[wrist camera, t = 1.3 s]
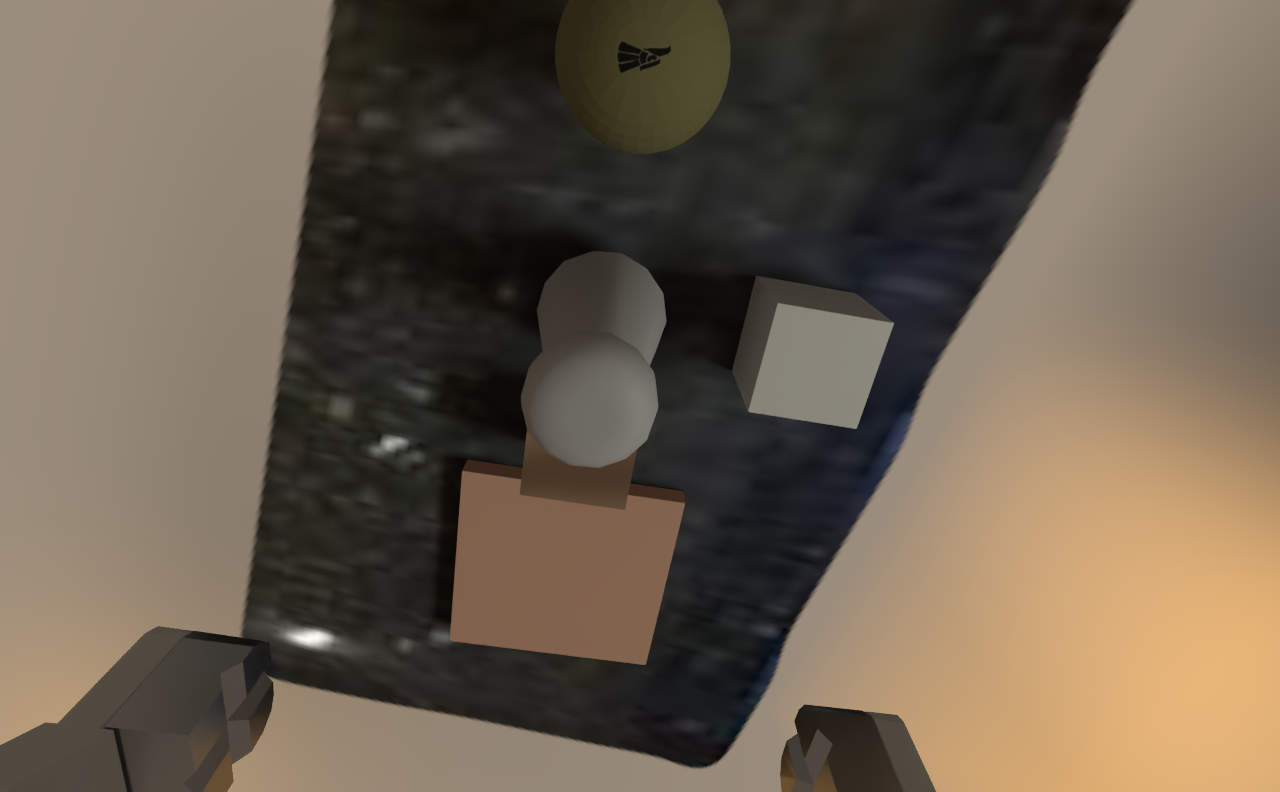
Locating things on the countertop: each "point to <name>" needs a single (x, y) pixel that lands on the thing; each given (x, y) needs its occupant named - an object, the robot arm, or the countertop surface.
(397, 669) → the countertop surface
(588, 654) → the terracotta tile
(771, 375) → the pale grey block
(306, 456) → the countertop surface
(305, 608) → the countertop surface
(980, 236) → the countertop surface
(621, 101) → the light bulb
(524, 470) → the walnut block
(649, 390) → the salt shaker
